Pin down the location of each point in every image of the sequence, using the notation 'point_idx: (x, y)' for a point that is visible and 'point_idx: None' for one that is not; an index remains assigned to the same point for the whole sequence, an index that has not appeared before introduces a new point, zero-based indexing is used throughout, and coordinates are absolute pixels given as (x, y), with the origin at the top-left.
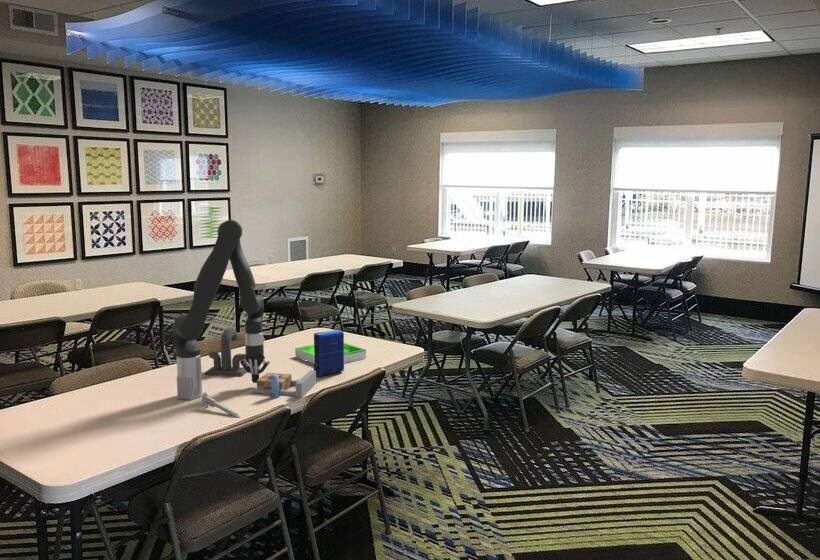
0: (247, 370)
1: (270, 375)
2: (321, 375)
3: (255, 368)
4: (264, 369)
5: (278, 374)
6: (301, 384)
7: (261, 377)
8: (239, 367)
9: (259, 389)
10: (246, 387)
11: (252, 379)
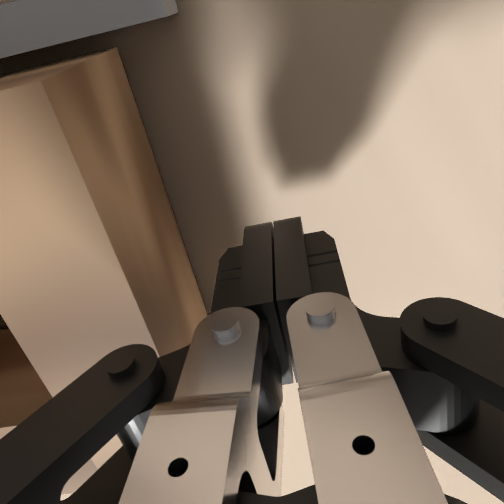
0: (471, 335)
1: None
2: None
3: (199, 414)
4: (89, 481)
5: None
6: None
7: (119, 291)
8: None
9: (8, 7)
10: (393, 153)
11: (320, 249)
